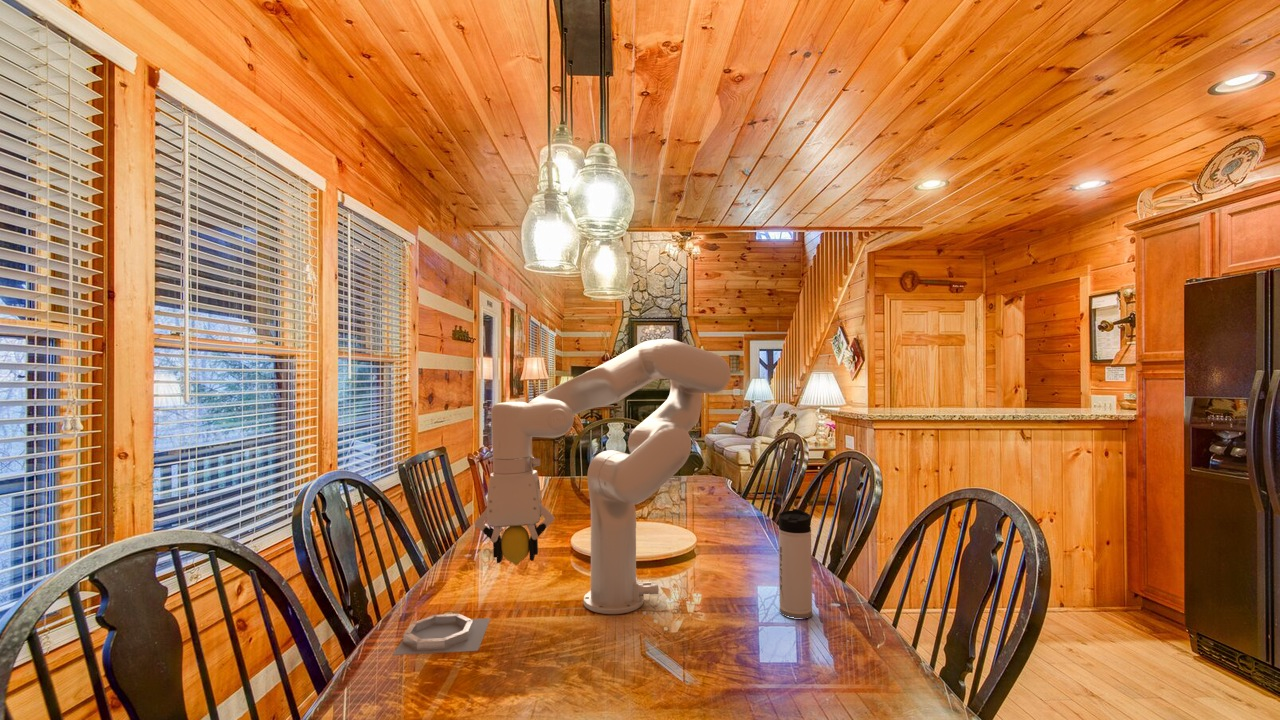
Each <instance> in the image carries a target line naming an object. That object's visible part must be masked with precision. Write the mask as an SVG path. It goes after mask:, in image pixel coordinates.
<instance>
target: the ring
mask: <svg viewBox="0 0 1280 720" xmlns="http://www.w3.org/2000/svg"><path fill="white" fill-rule="evenodd" d="M472 619H473V618H469V617H467V616H466V615H462V613H461V614H460V613H446V614H443V613H442V614H432V615H429V616H427V617H425V618H422V619H419V620H415V621H413V622H411V623H410V625H408V627H407V628H406V630H405V631H404V632H403V634H402V635H403V636H402V637H403V639H402V640H403V643H404V644H406V645H408V646H410V647H411V648H413V649H415V650H416V651H425V650H445V649H447V648H450V647H452V646H454V645H457V644H459V643H462V642H464V641H467V640H468V639H469V636H470V634H471V632H472V630H473V620H472ZM447 624H456V625H458V626H461V627H463V628H464V629H463V631H460V632H458V633H455V634H453V635H450V636H448V637H445V638H433V639H420V638H418V637H417V636H415V633H416V632H418V631H420V630H423V629H426V628H428V627H431V626H434V625H447Z"/></svg>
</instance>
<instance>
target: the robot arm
mask: <svg viewBox="0 0 1280 720" xmlns="http://www.w3.org/2000/svg"><path fill="white" fill-rule="evenodd" d="M731 373H732V372H731V368H730V365H729V364H728V362H727V360H725V358H723V357H722V356H721V355H719V354H717V353H714V352H711V351H708V350H705V349H704V348H699V347H696V346H694V345H690V344H688V343H686V342H681V341H679V340H675V339H671V338H661V339H659V338H658V339H651V340H646V341H643V342H641V343H638V344H637V345H635V346H634V347H632V348H629V349H628V350H626V351H624V352H623V353H621V354H619V355H617V356H616V357H614V358H612V359H609V360H607V361H605V362H604V363H602V364H600V365H598V366H597V367H595V368H592V369H590V370H587V371H585V372H584V373H582V374H579V375H578V376H575V377H573V378H571V379H568V380H567V381H565V382H563V383H561V384H558V385H556V386H555V387H553V388H551V389H548V390H546V391H545V392H543V393H541V394H539V395H538V396H536V397H534V398H533V399H531V400H530V401H528V403H527V402H525V401H505V402H499V403H496V404H494V405H493V407H492V408H491V435H492V436H491V439H492V440H491V443H492V444H491V445H492V469H493V470H492V471H493V472H492V473H491V472H490V474H489V478H488V486H487V497H486V498H487V503H486V508H485V510H484V511H483V512H482V513H481V514H480V515H479V517H478V518H477V519H476V520H475V522H474V526H475V527H476V528H477V529H479V531H480V532H481V531H482V532H483V534H484V535H485V536H486V537H487V538H489V539H490V541H491V542H492V546H493V547H492V548H493V553H492V554H493V558H496V564H500V563H501V562H503V561H502V560H503V558H504V556H503V554H502V550H501V539H502V535H501V531H502V529H503V528H505V527H506V528H508V527H510V526H523V527H524V526H527V529H528V531H529V534H530V535H529V538H530V540H529V553H528V554H529V561H530V562H534V561H535V557H536V555H538V553H539V544H538V543H539V542H538V538H539V537H540V536H541V534H542V533H543V532H544V531H545V530H546V529H547V528H548V527H549V526H550V525H551V524H552V523H553V522H554V521H555V516H554V514H553V513H551V512H550V511H549V510H548V509H547V508H546V507H545V506H544V504H542V494H541V485H540V479H539V474H538V470H536V469H535V467H537V466H538V467H539V466H541V459H540V458H536V457H534V454H533V438H550V439H554V438H560V437H562V436H564V435H565V434H568V432H570V430H571V429H572V427H573V425H574V422H575V420H574V419H575V417H574V416H575V415H577V414H579V413H582V412H585V411H587V410H590V409H595V408H601V407H606V406H610V405H612V404H615V403H618V402H619V401H621V400H623V399H625V398H626V397H628V396H629V395H631V394H633V393H635V392H637V391H638V390H640V389H642V388H643V387H646V385H648V384H650V383H652V382H653V381H656V380H658V379H659V380H660V379H661V380H663V379H665V380H670V390H669V395H668V396H667V399H666V400H665V401H664V402H663V403H662V404H661V405H660V406H659V407H658V408H657V409H655V411H653V412H652V413H651V414H650V415H649V416H648V417H646V418H645V419H644V420H642V422H640V423H639V424H638V425H637V426H636V427H634V428H633V430H632V431H631V432H630V434H629V436H628V440H627V447H628V451H629V452H630V453H627V452H623V451H619V450H615V449H614V450H611V449H608V450H604V451H601V452H599V453H598V454H597V455H595V456H594V457H593V459H592V460H591V461H590V463H589V466H588V469H587V474H586V475H587V477H586V478H587V481H586V482H587V488H588V494H589V495H588V496H589V501H590V502H589V505H590V590H589V591H588V592H586V593H585V595H584V596H583V599H582V600H583V601H582V603H583V606H584V607H585V608H586V609H587V610H589V611H591V612H594V613H597V614H604V615H620V614H621V615H622V614H626V613H631V612H633V611H636V610H639V608H641V607H642V606H643V604H644V601H645V600H644V598H645V597H644V595H659V592H660V591H659V584H652V581H644V582H643V581H642V582H641V581H640V580H638V577H637V576H638V575H637V512H636V511H637V510H636V505H639V504H641V503H643V502H644V501H647V499H649V498H651V496H653V495H654V494H655V493H656V492H657V491H658V490H659V489H660V488H662V487H663V485H664V484H666V483H667V482H669V480H670V479H671V478H672V477H673V476H674V475H676V474H677V472H679V471H680V470H681V468H683V466H684V465H685V464H686V462H687V461H688V459H689V457H690V454H691V450H692V439H691V435H690V434H689V432H690V431H691V430H692V429H693V428H694V427H695V426H696V424H697V423H698V421H699V419H700V416H701V410H702V394H717V393H719V392H721V391H723V390H724V389H725V388H726V387H727V386H728V385H729V383H730V381H731V376H732V375H731ZM541 517H543V518H544V520H543V521H542V522H541V523H540V524H538V523H539V522H540V520H541ZM486 521H487V523H486ZM537 524H538V526H537ZM492 527H493V528H492Z"/></svg>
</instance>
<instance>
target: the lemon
mask: <svg viewBox="0 0 1280 720" xmlns="http://www.w3.org/2000/svg"><path fill="white" fill-rule="evenodd" d="M529 534H530V533H528V530H527V529H526V527H524V526H509V527H506V528H505V530H504V531H503V533H502V535H501V550H502V554H503V558H505V559H506V561H508V562H510V563H512V564H513V565H515V566H517V565H519V563H521V562H522V561H524V560H525V559H526V558H527V556H528V555H529V554H530V553H529V540H530V535H529Z"/></svg>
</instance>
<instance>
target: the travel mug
mask: <svg viewBox="0 0 1280 720" xmlns="http://www.w3.org/2000/svg"><path fill="white" fill-rule="evenodd" d="M811 522H812V516H811V515H810V514H809V513H808V512H805V511H803V510H802V509H799V508H793V509H791V510H784V511H782V512H779V514H778V524H779V525H778V570H779V571H778V572H779V573H778V577H779V578H778V579H779V580H778V581H779V583H778V586H779V587H778V588H779V589H778V590H779V592H778V593H779V597H778V598H779V613H780V612H781V613H782V614H784V615H786V616H789V617H794V618H807V617H810V616H811V615H812V616H813V596H812V595H813V594H812V593H813V589H812V588H813V585H812V583H813V582H812V581H813V575H812V574H813V573H812V528H811V526H812V525H811V524H812V523H811ZM781 613H780V614H781ZM782 614H781V615H782ZM812 616H811V617H812ZM811 617H810V618H811Z"/></svg>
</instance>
